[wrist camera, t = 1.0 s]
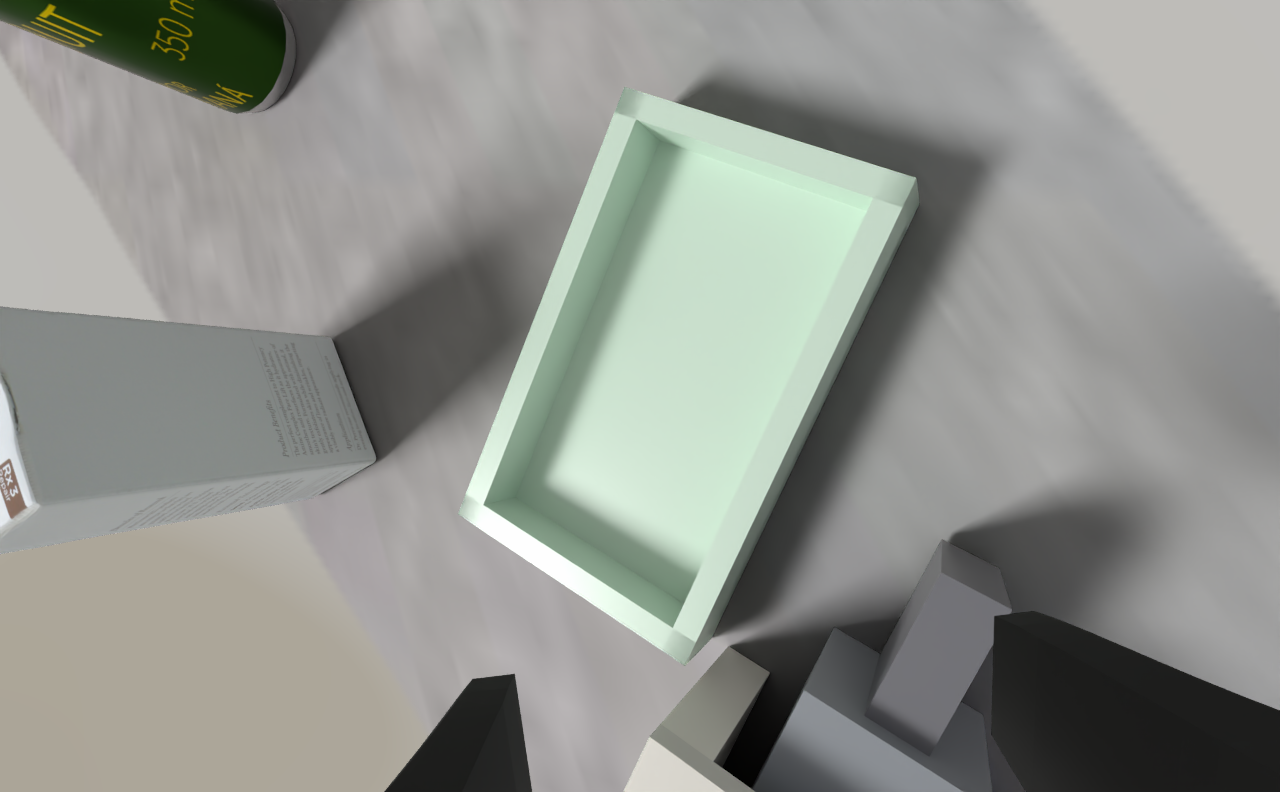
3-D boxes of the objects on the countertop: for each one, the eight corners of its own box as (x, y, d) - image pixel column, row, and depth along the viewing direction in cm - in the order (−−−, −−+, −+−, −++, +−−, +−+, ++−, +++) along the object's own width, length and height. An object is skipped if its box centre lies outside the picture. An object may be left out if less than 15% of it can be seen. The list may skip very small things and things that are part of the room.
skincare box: (275, 379, 31) (-98, 369, 20) (340, 331, 29) (-27, 292, 18) (318, 505, 30) (-51, 569, 19) (389, 462, 28) (29, 504, 17)
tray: (919, 203, 20) (916, 178, 18) (711, 638, 22) (685, 665, 20) (655, 117, 23) (624, 87, 21) (501, 504, 26) (458, 514, 24)
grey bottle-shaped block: (1052, 592, 19) (1087, 656, 14) (872, 906, 21) (851, 1051, 16) (893, 511, 20) (878, 545, 16) (740, 808, 22) (687, 915, 18)
